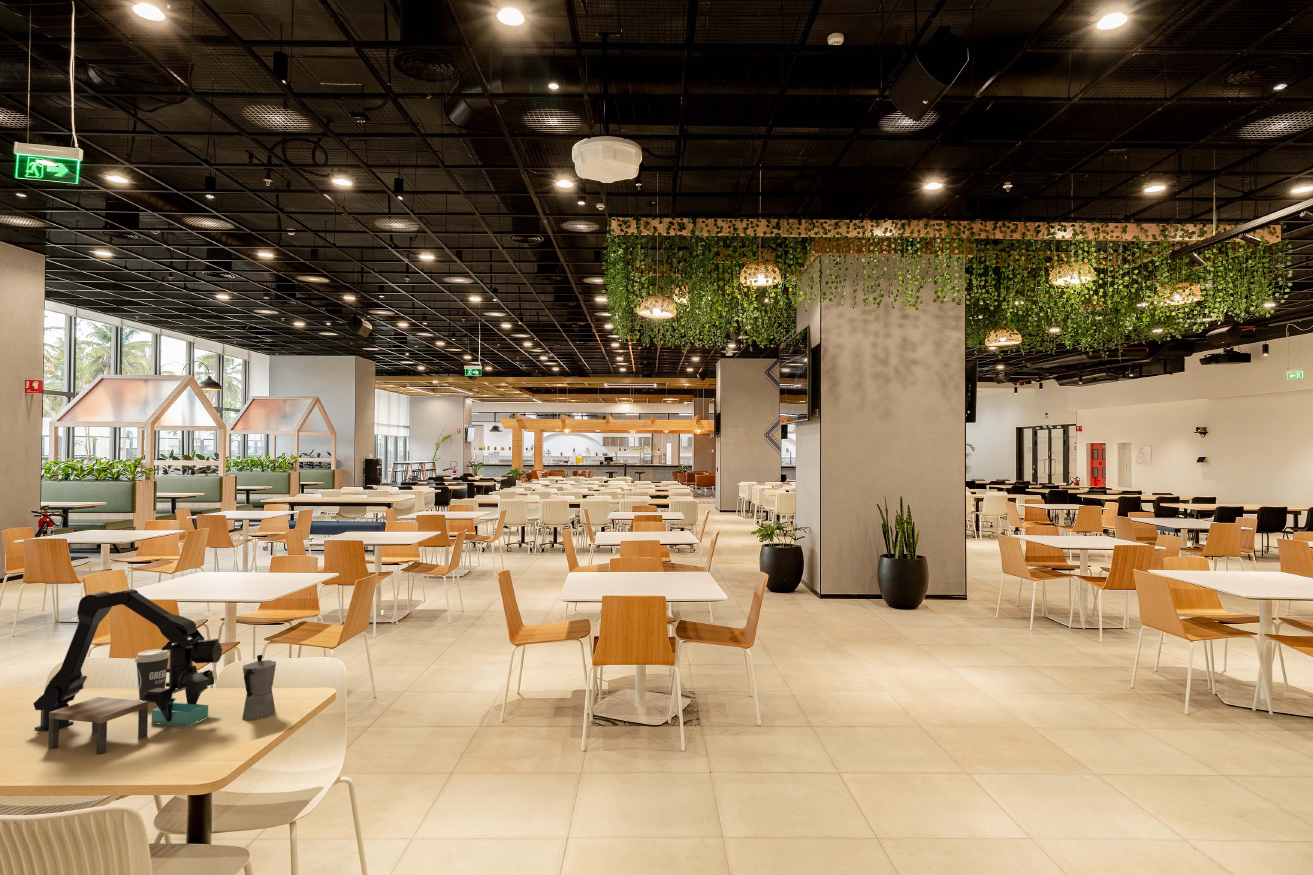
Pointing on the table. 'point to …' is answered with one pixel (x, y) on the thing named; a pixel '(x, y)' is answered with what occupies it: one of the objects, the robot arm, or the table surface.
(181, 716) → the tray
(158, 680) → the coffee cup
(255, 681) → the coffeepot
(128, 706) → the wooden step stool
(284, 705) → the table surface
